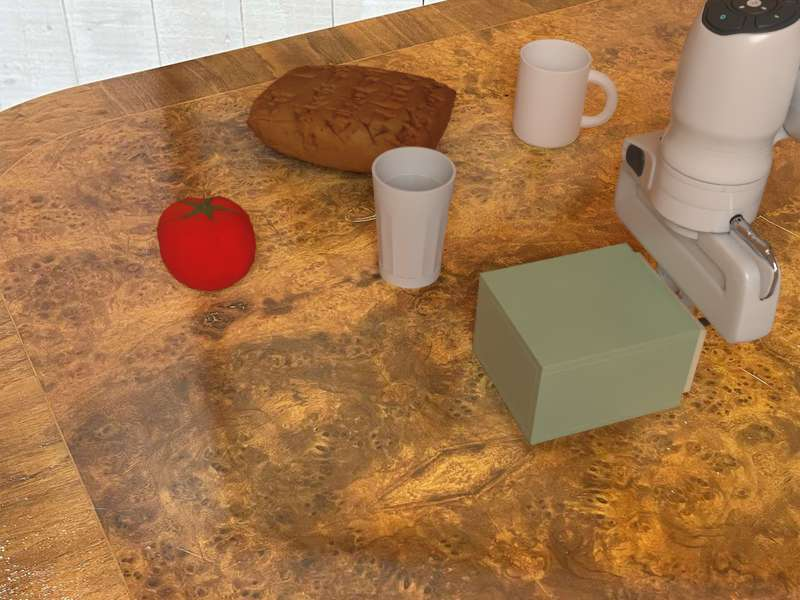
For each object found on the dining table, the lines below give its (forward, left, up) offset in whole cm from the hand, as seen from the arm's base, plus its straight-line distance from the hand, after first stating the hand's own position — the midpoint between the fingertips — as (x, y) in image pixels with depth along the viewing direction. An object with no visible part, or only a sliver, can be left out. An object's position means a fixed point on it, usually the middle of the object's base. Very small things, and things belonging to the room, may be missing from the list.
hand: (674, 313), depth 96 cm
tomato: (+44, -10, -5) cm, 45 cm away
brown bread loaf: (+31, -34, -5) cm, 46 cm away
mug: (+6, -39, -5) cm, 39 cm away
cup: (+24, -12, -5) cm, 27 cm away
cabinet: (+9, +3, -5) cm, 11 cm away
